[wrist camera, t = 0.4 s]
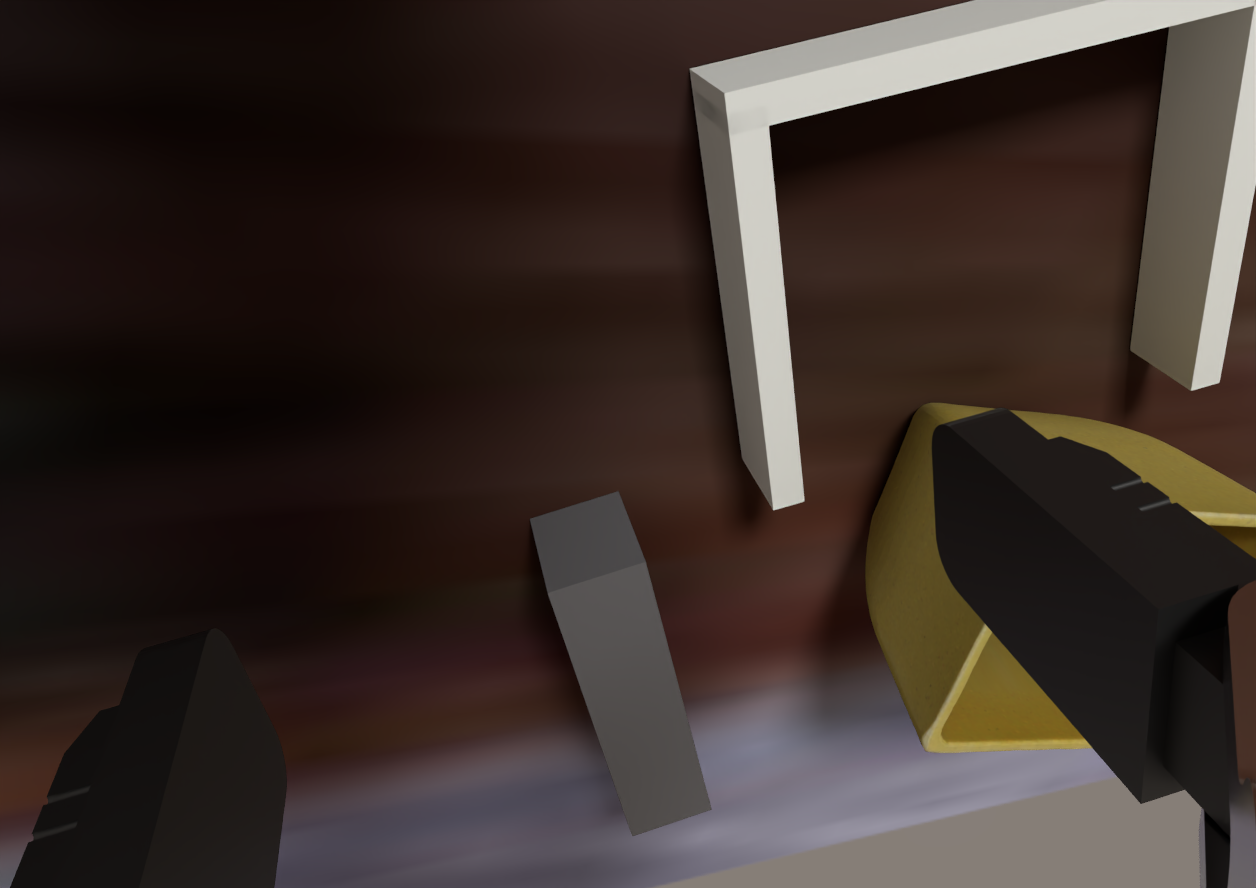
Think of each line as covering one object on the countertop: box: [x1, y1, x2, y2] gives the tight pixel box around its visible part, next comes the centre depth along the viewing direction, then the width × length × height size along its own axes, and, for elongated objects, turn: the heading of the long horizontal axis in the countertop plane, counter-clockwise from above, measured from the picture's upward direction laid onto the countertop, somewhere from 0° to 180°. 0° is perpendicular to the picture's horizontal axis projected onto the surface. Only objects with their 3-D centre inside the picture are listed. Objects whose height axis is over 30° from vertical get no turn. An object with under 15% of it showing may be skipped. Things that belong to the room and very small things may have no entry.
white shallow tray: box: [690, 0, 1256, 510], centre depth 28 cm, size 12×15×3 cm
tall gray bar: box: [530, 492, 712, 836], centre depth 34 cm, size 12×3×4 cm, turn 13°
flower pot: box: [865, 403, 1256, 753], centre depth 31 cm, size 9×9×9 cm
